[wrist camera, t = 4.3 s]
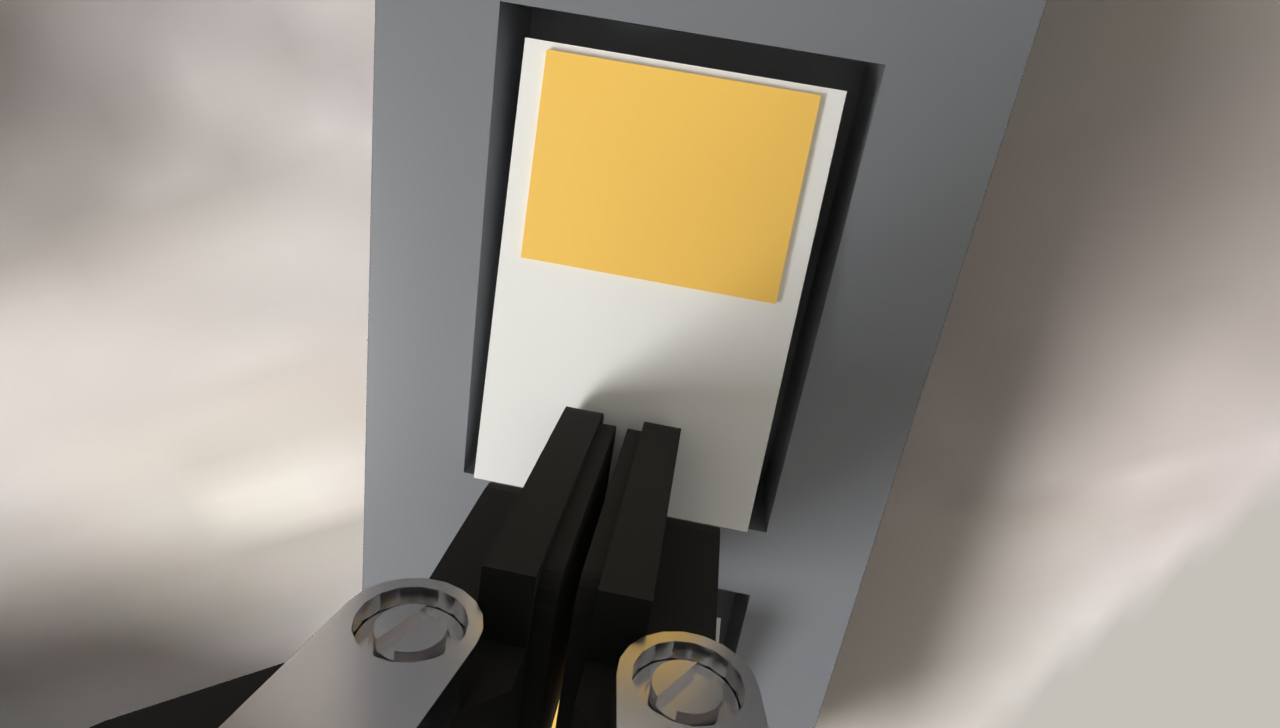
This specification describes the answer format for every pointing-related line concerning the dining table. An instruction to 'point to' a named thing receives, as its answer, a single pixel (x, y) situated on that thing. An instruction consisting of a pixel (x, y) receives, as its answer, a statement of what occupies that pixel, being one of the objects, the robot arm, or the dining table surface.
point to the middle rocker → (653, 262)
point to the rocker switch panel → (828, 308)
